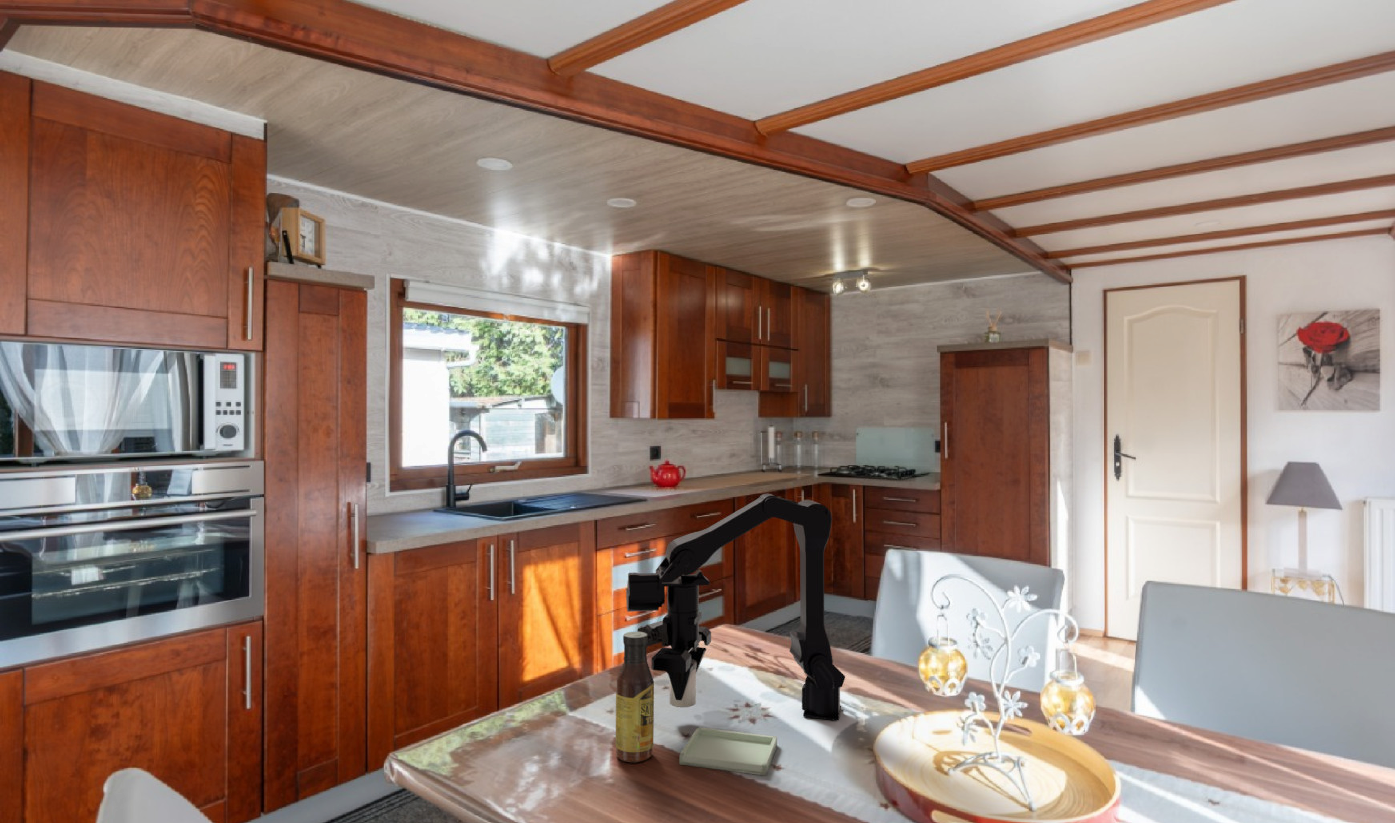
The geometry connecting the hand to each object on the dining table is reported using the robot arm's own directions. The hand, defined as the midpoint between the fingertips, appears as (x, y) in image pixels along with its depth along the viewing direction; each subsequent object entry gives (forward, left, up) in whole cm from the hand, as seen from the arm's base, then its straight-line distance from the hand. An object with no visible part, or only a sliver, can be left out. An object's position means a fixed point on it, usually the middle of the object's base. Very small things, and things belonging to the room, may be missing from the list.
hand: (682, 694), depth 138 cm
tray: (-11, +10, -5) cm, 16 cm away
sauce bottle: (+4, +15, -5) cm, 16 cm away
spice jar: (0, 0, -1) cm, 1 cm away
